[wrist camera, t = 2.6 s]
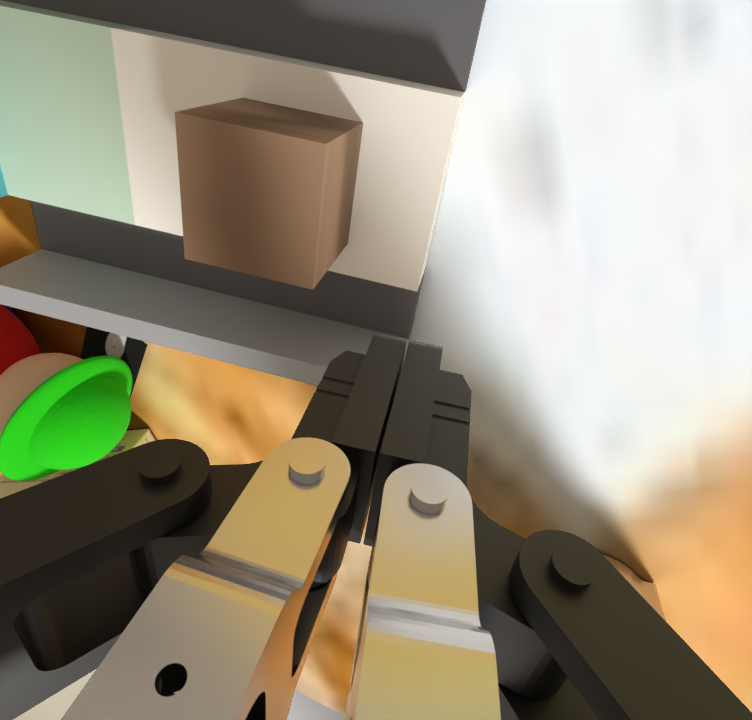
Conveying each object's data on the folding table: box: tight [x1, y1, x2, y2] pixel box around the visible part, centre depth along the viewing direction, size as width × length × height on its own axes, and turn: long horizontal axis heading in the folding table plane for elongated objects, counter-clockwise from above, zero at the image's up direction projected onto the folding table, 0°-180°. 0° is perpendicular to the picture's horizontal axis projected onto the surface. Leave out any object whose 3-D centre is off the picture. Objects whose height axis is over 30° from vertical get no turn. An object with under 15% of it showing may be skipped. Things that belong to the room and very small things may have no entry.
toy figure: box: [0, 304, 147, 481], centre depth 30 cm, size 9×10×15 cm
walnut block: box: [175, 98, 363, 290], centre depth 19 cm, size 5×5×5 cm
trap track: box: [0, 0, 486, 386], centre depth 21 cm, size 22×18×6 cm
